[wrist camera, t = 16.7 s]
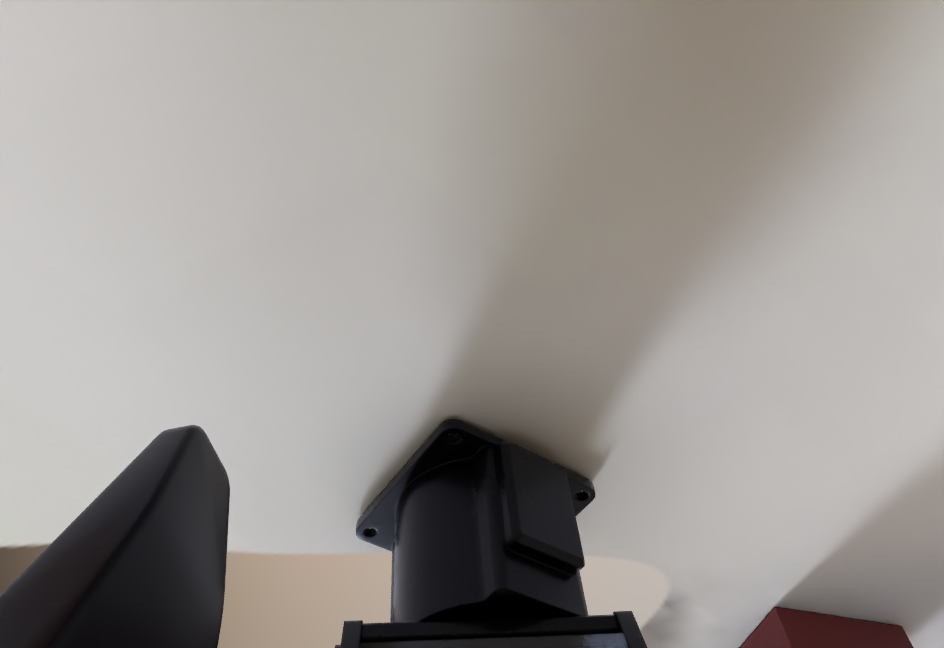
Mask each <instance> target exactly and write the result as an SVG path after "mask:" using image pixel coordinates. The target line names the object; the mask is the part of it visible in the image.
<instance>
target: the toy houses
mask: <svg viewBox="0 0 944 648" xmlns="http://www.w3.org/2000/svg"><path fill="white" fill-rule="evenodd" d="M740 648H913V646H912V644H911V643H910V641H909V639H908V637H907V635H906V633H905V632H904V630H903V628H902V626H896V625H889V624H883V623H876V622H870V621H863V620H856V619H850V618H843V617H837V616H830V615H824V614H817V613H810V612H804V611H797V610H791V609H784V608H777V607H775V608H774V609H773V610H772V611H771V612H770V614H769V615H768V616H767V617H766V618H765V619H764V621H763V622H762V623H761V624H760V625H759V626H758V628H757V629H756V630H755V631H754V632H753V633H752V635H751V636H750V637H749V638H748V639H747V640H746V642H745V643H744V644H743V645H742V646H741V647H740Z"/></svg>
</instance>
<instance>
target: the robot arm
mask: <svg viewBox="0 0 944 648" xmlns="http://www.w3.org/2000/svg"><path fill="white" fill-rule="evenodd" d="M450 433H458V434H457V435H454V436H451V435H448V434H450ZM580 491H583V492H580ZM578 492H579V493H578ZM229 497H230V486H229V480H228V476H227V473H226V470H225V468H224V466H223V465H222V463H221V461H220V459H219V457H218V455H217V453H216V452H215V450H214V448H213V446H212V444H211V442H210V440H209V438H208V437H207V435H206V433H205V432H204V430H203V429H202V428H201V427H199V426H196V425H190V426H184V427H179V428H173V429H168V430H165V431H163V432H162V433H161V434H159V435H158V436H157V437H156V438H155V439H154V440H153V441H152V442H151V443H150V444H149V445H148V446H147V447H146V448H145V449H144V450H143V451H142V452H141V453H140V454H139V455H138V456H137V457H136V458H135V459H134V460H133V462H132V463H131V464H130V465H129V466H128V467H127V468H126V469H125V470H124V471H123V472H122V473H121V474H120V475H119V476H118V477H117V478H116V479H115V480H114V481H113V482H112V483H111V484H110V485H109V486H108V487H107V488H106V489H105V490H104V491H103V492H102V493H101V494H100V495H99V496H98V497H97V498H96V499H95V500H94V501H93V502H92V503H91V504H90V505H89V506H88V507H87V508H86V509H85V510H84V511H83V512H82V513H81V514H80V515H79V516H78V517H77V518H76V519H75V520H74V521H73V522H72V523H71V524H70V525H69V526H68V527H67V528H66V529H65V530H64V531H63V532H62V533H61V534H60V535H59V537H58V538H57V539H56V540H55V541H54V542H53V543H52V544H51V545H50V546H49V547H48V548H47V549H46V550H45V551H44V552H43V553H42V554H41V555H40V556H39V557H38V558H37V559H36V560H35V561H34V562H33V563H32V564H31V565H30V566H29V567H28V568H27V569H26V570H25V571H24V572H23V573H22V574H21V575H20V576H19V577H18V578H17V579H16V580H15V581H14V582H13V583H12V584H11V585H10V586H9V587H8V588H7V589H6V590H5V591H4V592H3V593H2V594H1V595H0V648H217V646H218V640H219V634H220V628H221V620H222V613H223V604H224V592H225V575H226V574H225V573H226V554H227V536H228V516H229ZM594 498H595V491H594V486H593V484H592V482H591V481H590V480H588V479H586V478H584V477H582V476H580V475H578V474H576V473H573V472H571V471H569V470H567V469H565V468H564V467H562V466H560V465H558V464H555V463H553V462H551V461H549V460H547V459H545V458H542V457H540V456H538V455H536V454H534V453H532V452H529V451H527V450H525V449H523V448H521V447H519V446H516V445H514V444H512V443H508V442H506V441H504V440H502V439H500V438H498V437H495V436H493V435H491V434H489V433H487V432H485V431H482V430H480V429H478V428H476V427H474V426H472V425H469V424H467V423H465V422H463V421H460V420H457V419H450V420H447V421H444V422H443V423H442V424H440V425H439V427H438V428H437V429H436V430H435V431H434V432H433V434H432V435H431V436H430V437H429V438H428V439H427V441H426V442H425V443H424V444H423V445H422V446H421V447H420V449H419V450H418V451H417V452H416V453H415V454H414V456H413V457H412V458H411V459H410V460H409V461H408V463H407V464H406V465H405V466H404V467H403V468H402V469H401V471H400V472H399V473H398V474H397V475H396V476H395V478H394V479H393V480H392V481H391V482H390V483H389V485H388V486H387V487H386V488H385V489H384V490H383V491H382V493H381V494H380V495H379V496H378V497H377V498H376V500H375V501H374V502H373V503H372V504H371V505H370V506H369V508H368V509H367V510H366V511H365V512H364V513H363V515H362V516H361V517H360V518H359V519H358V521H357V525H356V535H357V536H358V538H360V539H361V540H363V541H366V542H369V543H371V544H374V545H377V546H379V547H382V548H385V549H387V550H390V551H392V585H391V623H366V624H363V622H362V621H344V627H343V634H342V641H341V645H336V646H335V648H647V646H646V644H645V641H644V639H643V637H642V634H641V632H640V629H639V627H638V625H637V622H636V620H635V618H634V615H633V613H632V611H622V612H621V611H620V612H613V615H593V616H588V612H587V607H586V602H585V597H584V592H583V587H582V582H581V577H580V572H579V570H581V569H582V568H583V567H584V565H585V562H584V556H583V551H582V546H581V541H580V537H579V532H578V527H577V522H576V518H575V516H576V515H578V514H579V513H580V512H581V511H582V510H583V509H584V508H585V507H586V506H587V505H588V504H589V503H590V502H591V501H592V500H593V499H594ZM370 528H371V529H370Z"/></svg>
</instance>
